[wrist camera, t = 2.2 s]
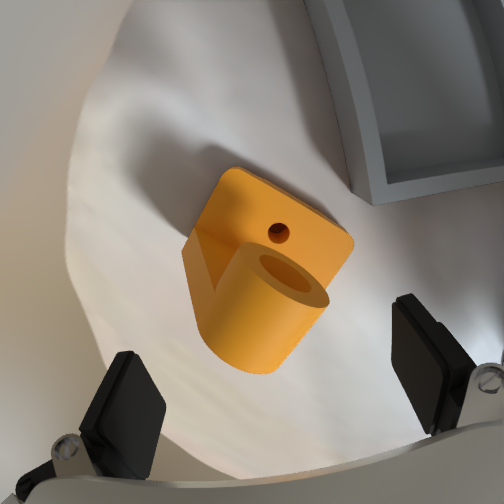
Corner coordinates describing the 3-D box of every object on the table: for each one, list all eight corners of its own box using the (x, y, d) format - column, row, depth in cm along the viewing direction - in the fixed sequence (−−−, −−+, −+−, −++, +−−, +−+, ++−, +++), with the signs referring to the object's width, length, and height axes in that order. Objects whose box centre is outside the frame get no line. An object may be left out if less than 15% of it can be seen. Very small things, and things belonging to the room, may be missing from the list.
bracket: (349, 230, 25) (412, 303, 13) (301, 299, 27) (324, 402, 16) (232, 160, 23) (206, 181, 12) (188, 239, 25) (138, 320, 14)
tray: (463, -23, 15) (489, -39, 10) (510, 165, 22) (544, 174, 17) (290, -35, 17) (296, -66, 12) (351, 192, 23) (372, 206, 19)
